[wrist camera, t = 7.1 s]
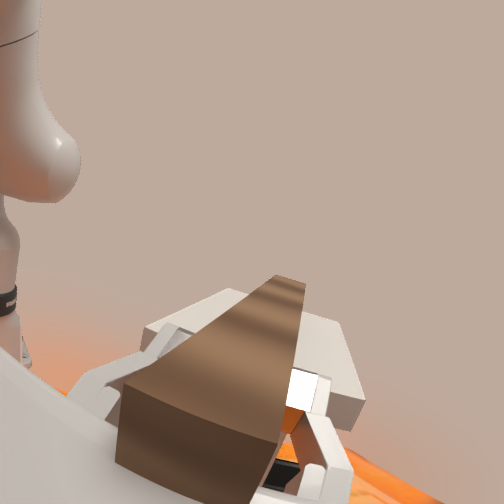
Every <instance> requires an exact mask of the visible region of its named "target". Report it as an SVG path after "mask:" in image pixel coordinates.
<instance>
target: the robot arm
mask: <svg viewBox="0 0 504 504" xmlns="http://www.w3.org/2000/svg"><path fill="white" fill-rule="evenodd" d="M40 13H41V0H0V504H203V503H201V502H198V501H195V500H193V499H190V498H188V497H185V496H183V495H181V494H178V493H176V492H173V491H171V490H169V489H167V488H164V487H162V486H160V485H158V484H156V483H154V482H152V481H149V480H147V479H145V478H143V477H141V476H139V475H137V474H135V473H133V472H132V471H130V470H128V469H126V468H124V467H122V466H120V465H119V464H117V463H115V453H116V442H117V433H118V424H119V415H120V407H121V400H122V392H123V385H124V382H126V381H127V380H129V379H130V378H132V377H133V376H135V375H136V374H138V373H139V372H140V371H142V370H143V369H145V368H146V367H148V366H149V365H151V364H152V363H154V362H155V361H156V360H158V359H159V358H161V357H162V356H164V355H165V354H167V353H168V352H169V351H171V350H172V349H174V348H175V347H177V346H178V345H179V344H181V343H182V342H184V341H185V340H187V339H188V338H189V337H191V336H192V335H194V334H195V333H193V332H191V331H188V330H186V329H183V328H181V327H179V326H176V325H174V324H171V323H169V322H167V323H166V324H164V325H163V327H162V328H161V329H160V331H159V332H158V333H157V335H156V336H155V337H154V339H153V340H152V341H151V343H150V344H149V346H148V347H147V348H146V350H145V351H144V352H142V351H139V352H136V353H133V354H131V355H128V356H126V357H123V358H120V359H118V360H115V361H113V362H110V363H107V364H105V365H102V366H100V367H97V368H94V369H92V370H89V371H86V372H85V374H84V375H83V376H82V377H81V378H80V379H79V381H78V382H77V383H76V384H75V386H74V387H73V388H72V389H71V391H70V392H69V393H68V394H67V396H65V395H63V394H62V393H60V392H59V391H57V390H56V389H54V388H53V387H52V386H50V385H49V384H47V383H46V382H45V381H43V380H42V379H40V378H39V377H38V376H36V375H35V374H34V373H32V372H31V371H30V370H29V369H27V368H30V367H31V366H32V361H31V358H30V356H29V353H28V350H27V348H26V346H25V343H24V340H23V336H22V322H21V321H20V318H19V316H18V315H17V313H16V311H15V308H16V300H17V287H16V285H15V279H16V271H17V264H18V256H19V250H20V239H19V235H18V233H17V230H16V229H15V227H14V226H13V225H12V224H11V222H10V221H9V220H8V218H7V216H6V213H5V209H4V201H3V200H4V195H6V196H10V197H13V198H17V199H20V200H23V201H27V202H38V203H57V202H59V201H60V200H62V199H63V198H64V197H65V196H66V195H67V194H68V193H69V192H70V191H71V190H72V188H73V187H74V185H75V183H76V181H77V178H78V175H79V172H80V165H81V157H80V152H79V148H78V145H77V143H76V141H75V140H74V139H73V138H72V137H71V136H70V135H69V134H68V133H66V132H65V131H64V130H63V129H62V128H61V126H60V125H59V124H58V123H57V121H56V120H55V118H54V117H53V115H52V113H51V112H50V110H49V108H48V106H47V104H46V102H45V99H44V97H43V94H42V91H41V87H40V83H39V78H38V38H39V27H40V15H41V14H40ZM331 384H332V378H331V377H328V376H325V375H321V374H317V373H315V372H311V371H308V370H304V369H300V368H297V367H293V369H292V375H291V381H290V386H289V392H288V397H287V402H286V407H285V413H284V418H283V423H282V428H281V432H284V433H288V434H291V435H290V437H291V440H292V443H293V447H294V450H295V454H296V457H297V460H298V464H299V467H300V470H301V471H300V472H299V473H298V474H297V475H296V476H295V477H294V478H293V479H292V480H291V481H290V482H288V483H287V484H286V487H285V490H284V493H283V492H279V491H275V490H271V489H267V488H264V487H260V486H258V488H257V490H256V492H255V494H254V496H253V498H252V500H251V502H250V504H348V501H349V496H350V491H351V486H352V480H353V475H354V470H353V468H352V466H351V464H350V462H349V459H348V457H347V455H346V453H345V451H344V448H343V446H342V444H341V442H340V440H339V438H338V436H337V433H336V431H335V429H334V426H333V424H332V422H331V420H330V418H329V417H326V412H327V406H328V401H329V395H330V390H331Z"/></svg>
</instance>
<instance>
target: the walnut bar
mask: <svg viewBox="0 0 504 504" xmlns="http://www.w3.org/2000/svg"><path fill="white" fill-rule="evenodd" d="M305 287H306V284H304V283H301V282H298V281H295V280H291V279H288V278H285V277H281V276H278V275H275V276H273V277H272V278H271V279H269V280H268V281H267V282H265V283H264V284H263V285H261V286H260V287H259V288H257V289H256V290H255V291H253V292H252V293H250V295H248V296H246V297H245V298H244V299H242V300H241V301H240V302H238V303H237V304H235V305H234V306H233V307H231V308H230V309H229V310H227V311H226V312H224V313H223V314H222V315H220V316H219V317H217V318H216V319H215V320H213V321H212V322H210V323H209V324H208V325H206V326H205V327H203V328H202V329H201V330H199V331H198V332H196V333H195V334H194V335H192V336H191V337H189V338H188V339H187V340H185V341H184V342H182V343H181V344H179V345H178V346H177V347H175V348H174V349H172V350H171V351H169V352H168V353H167V354H165V355H164V356H162V357H161V358H159V359H158V360H156V361H155V362H154V363H152V364H151V365H149V366H148V367H146V368H145V369H143V370H142V371H140V372H139V373H138V374H136V375H135V376H133V377H132V378H130V379H129V380H127V381H126V382H124V385H123V392H122V400H121V407H120V415H119V424H118V433H117V442H116V453H115V463H117V464H119V465H120V466H122V467H124V468H126V469H128V470H130V471H132V472H133V473H135V474H137V475H139V476H141V477H143V478H145V479H147V480H149V481H152V482H154V483H156V484H158V485H160V486H162V487H164V488H167V489H169V490H171V491H173V492H176V493H178V494H181V495H183V496H185V497H188V498H190V499H193V500H195V501H198V502H201V503H203V504H250V502H251V500H252V498H253V496H254V494H255V492H256V490H257V488H258V486H259V484H260V482H261V480H262V478H263V475H264V473H265V471H266V469H267V467H268V465H269V463H270V461H271V459H272V456H273V454H274V452H275V450H276V448H277V445H278V442H279V437H280V433H281V428H282V423H283V418H284V413H285V407H286V402H287V397H288V392H289V386H290V381H291V375H292V369H293V364H294V358H295V352H296V346H297V340H298V334H299V327H300V321H301V314H302V307H303V301H304V294H305Z"/></svg>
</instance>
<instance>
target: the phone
mask: <svg viewBox="0 0 504 504" xmlns="http://www.w3.org/2000/svg"><path fill="white" fill-rule="evenodd" d="M300 471H301V470H300V467H299V464H298V463H295V462H290V461H286V460H281V459H277V458H275V461H274V463H273V465H272V467H271V469H270V471H269V473H268V475H267V477H266V479H265V481H264V483H263V485H262V487H264V488H267V489H271V490H275V491H279V492H283V493H284V490H285V487H286V484H287V483H288V482H290V481H291V480H292V479H293V478H294V477H295V476H296V475H297V474H298V473H299V472H300Z"/></svg>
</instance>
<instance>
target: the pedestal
mask: <svg viewBox="0 0 504 504" xmlns="http://www.w3.org/2000/svg"><path fill="white" fill-rule="evenodd" d="M248 295H249V294H246V293H242V292H239V291H236V290H233V289H230V288H227V289H225V290H223V291H221V292H219V293H216V294H214V295H212V296H210V297H208V298H206V299H204V300H201V301H199V302H197V303H195V304H193V305H191V306H189V307H186V308H184V309H182V310H180V311H178V312H176V313H174V314H171V315H169V316H167V317H165V318H163V319H161V320H158V321H156V322H154V323H152V324H149V325H147V326H145V327H144V330H143V336H142V340H141V346H140V351H142V352H144V351H145V350H146V348H147V347H148V346H149V344H150V343H151V341H152V340H153V339H154V337H155V336H156V335H157V333H158V332H159V331H160V329H161V328H162V327H163V325H164V324H166V323H167V322H169V323H171V324H174V325H176V326H179V327H181V328H183V329H186V330H188V331H191V332H193V333H196V332H198V331H199V330H201V329H202V328H203V327H205V326H206V325H208V324H209V323H210V322H212V321H213V320H215V319H216V318H217V317H219V316H220V315H222V314H223V313H224V312H226V311H227V310H229V309H230V308H231V307H233V306H234V305H235V304H237V303H238V302H240V301H241V300H242V299H244V298H245V297H246V296H248ZM293 367H297V368H300V369H304V370H308V371H311V372H315V373H317V374H321V375H325V376H328V377H331V378H332V384H331V390H330V395H329V401H328V406H327V412H326V417H329V418H330V420H331V422H332V424H333V426H334V428H336V429H341V430H345V431H350V432H351V430H352V428H353V426H354V424H355V422H356V420H357V418H358V416H359V414H360V412H361V409H362V408H363V405H364V403H365V401H366V400H365V396H364V393H363V390H362V387H361V384H360V381H359V378H358V376H357V372H356V370H355V367H354V364H353V361H352V358H351V355H350V352H349V350H348V347H347V344H346V341H345V338H344V336H343V333H342V330H341V327H340V325H339V322H336V321H333V320H330V319H326V318H323V317H320V316H316V315H313V314H310V313H306V312H303V311H302V314H301V321H300V327H299V334H298V340H297V346H296V352H295V358H294V364H293ZM286 434H287V433H284V432H281V433H280V437H279V442H278V445H277V448H276V450H275V452H274V454H273V456H272V459H271V461H270V463H269V465H268V467H267V469H266V471H265V473H264V475H263V478H262V480H261V482H260V484H259V486H260V487H262V485H263V483H264V481H265V479H266V477H267V475H268V473H269V471H270V469H271V467H272V465H273V463H274V461H275V458H276V456H277V454H278V452H279V450H280V448H281V446H282V443H283V441H284V439H285V436H286Z"/></svg>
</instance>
